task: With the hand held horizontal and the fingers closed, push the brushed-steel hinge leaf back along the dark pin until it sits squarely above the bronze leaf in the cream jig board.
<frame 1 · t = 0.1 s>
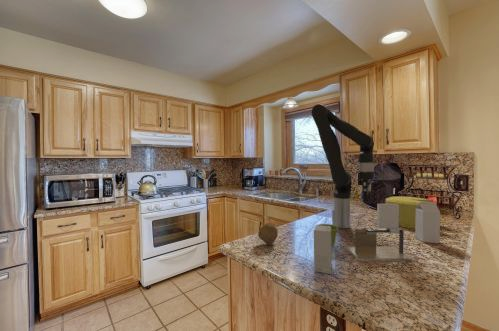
hand: (367, 199, 126), 17 cm above the counter, tool pointing down, fingers open, 8 cm apart
skincare box: (322, 268, 83), on the counter
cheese: (409, 223, 142), on the counter
natural sponge: (268, 244, 105), on the counter
knuckle leaf: (387, 218, 94), point 15 cm above the counter, slide at 9.0 cm
plant pot: (327, 245, 104), on the counter
pin leaf jig: (365, 254, 94), on the counter
milk carton: (426, 240, 111), on the counter
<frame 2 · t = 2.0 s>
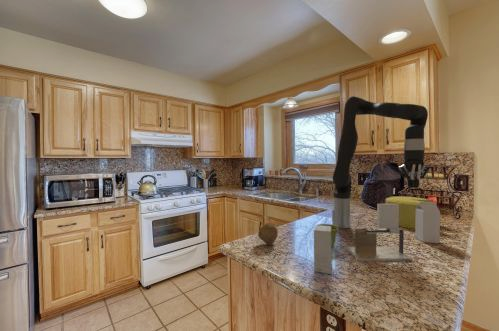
hand: (413, 187, 102), 27 cm above the counter, tool pointing down, fingers closed
nothing on the counter moved.
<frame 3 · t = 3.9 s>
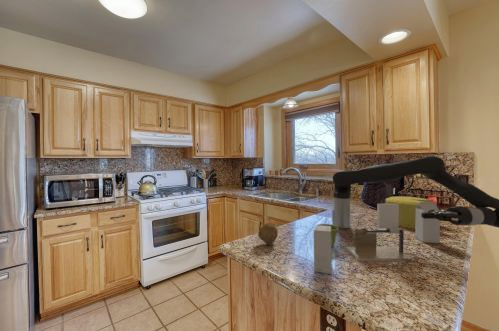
hand: (422, 215, 94), 16 cm above the counter, tool horizontal, fingers closed
nothing on the counter moved.
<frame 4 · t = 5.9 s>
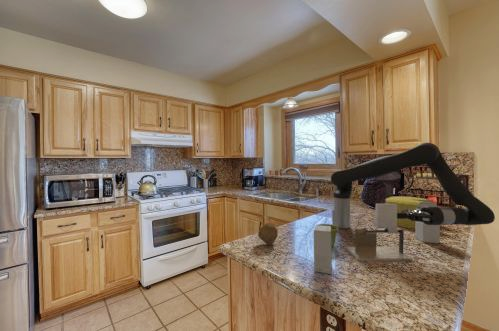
hand: (395, 215, 94), 16 cm above the counter, tool horizontal, fingers closed
knuckle leaf: (386, 218, 94), point 15 cm above the counter, slide at 8.3 cm, touching gripper
everything else where it was.
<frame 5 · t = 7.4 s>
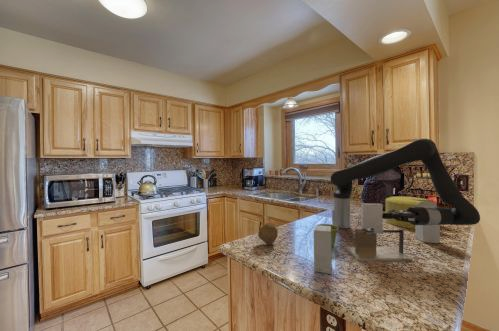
hand: (381, 215, 94), 16 cm above the counter, tool horizontal, fingers closed
knuckle leaf: (371, 218, 94), point 15 cm above the counter, slide at 2.3 cm, touching gripper
everything else where it was.
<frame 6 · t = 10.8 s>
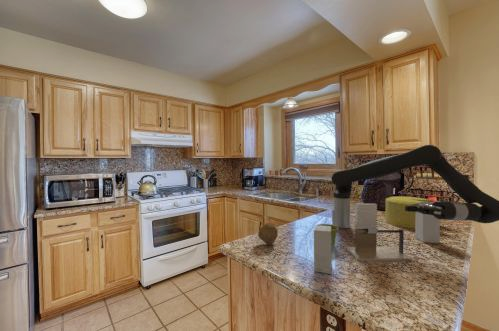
hand: (406, 208, 94), 19 cm above the counter, tool horizontal, fingers closed
knuckle leaf: (366, 218, 94), point 15 cm above the counter, slide at 0.0 cm
everything else where it was.
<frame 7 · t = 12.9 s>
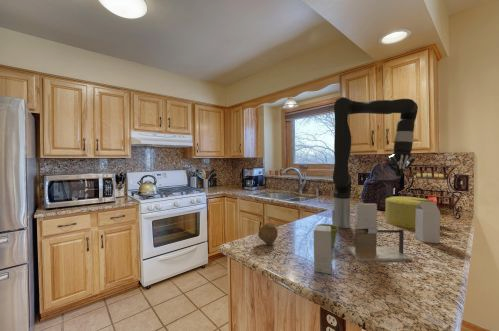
hand: (399, 176, 111), 31 cm above the counter, tool pointing down, fingers closed
nothing on the counter moved.
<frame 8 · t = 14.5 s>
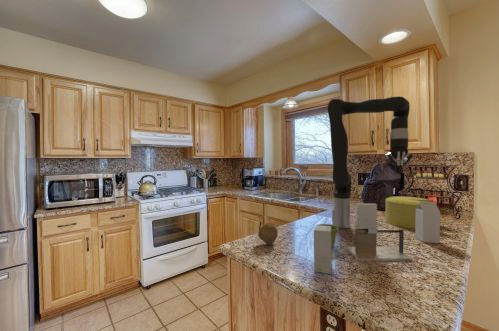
hand: (398, 173, 112), 33 cm above the counter, tool pointing down, fingers closed
nothing on the counter moved.
at the end: knuckle leaf slide at 0.0 cm; knuckle leaf touching nothing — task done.
